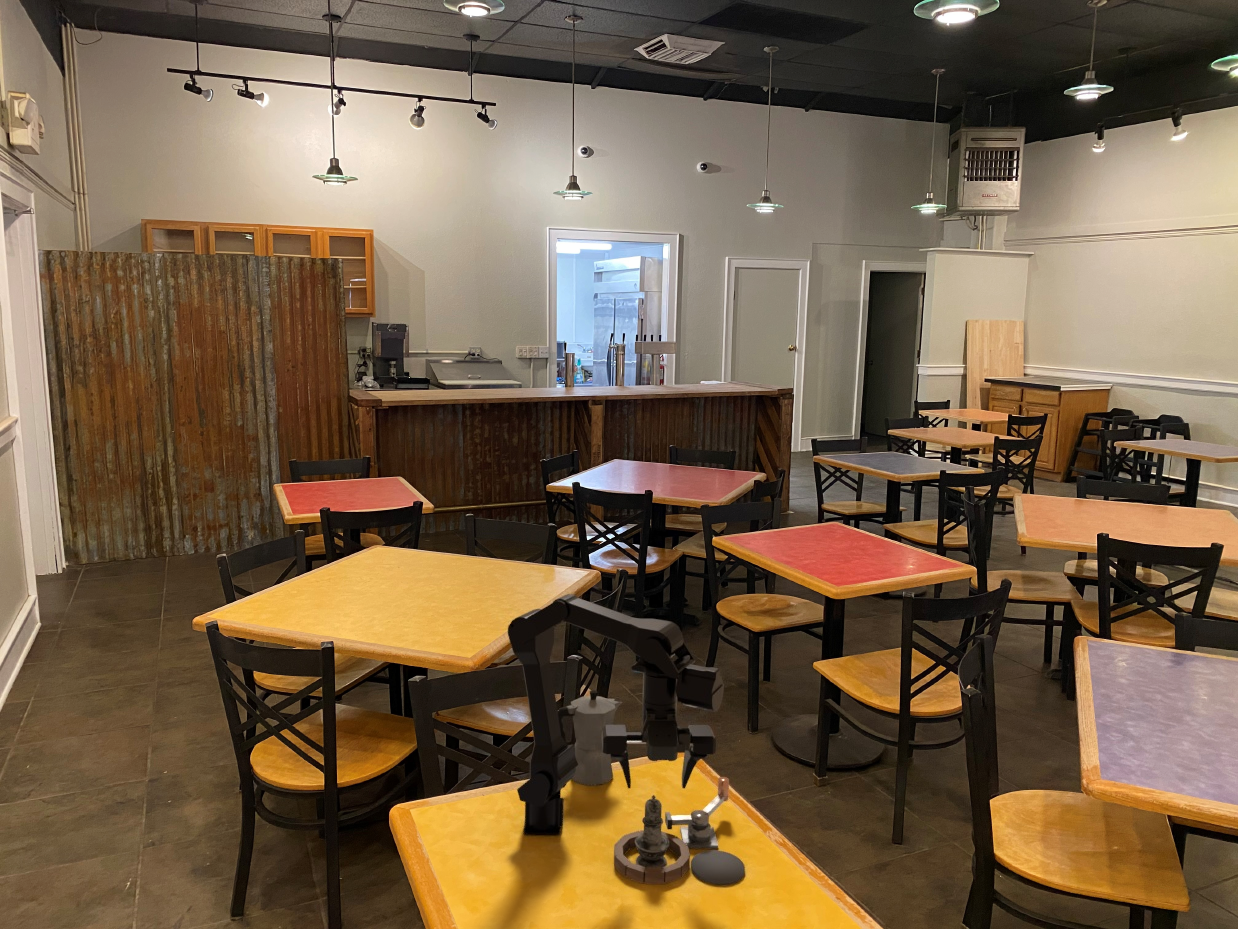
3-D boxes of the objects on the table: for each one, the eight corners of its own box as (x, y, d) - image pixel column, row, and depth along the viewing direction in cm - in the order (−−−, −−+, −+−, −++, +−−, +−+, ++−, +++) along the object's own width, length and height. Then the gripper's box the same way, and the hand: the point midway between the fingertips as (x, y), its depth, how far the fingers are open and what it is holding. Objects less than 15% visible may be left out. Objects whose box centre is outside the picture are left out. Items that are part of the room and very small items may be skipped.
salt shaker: (669, 853, 149) (671, 787, 148) (668, 873, 144) (670, 805, 142) (635, 850, 150) (637, 785, 148) (632, 870, 144) (634, 802, 143)
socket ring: (615, 883, 140) (615, 872, 140) (613, 840, 153) (613, 830, 152) (692, 884, 141) (693, 872, 140) (684, 841, 153) (684, 830, 153)
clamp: (659, 826, 152) (660, 804, 152) (698, 790, 166) (699, 769, 165) (695, 839, 149) (696, 816, 148) (732, 801, 162) (733, 779, 162)
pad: (694, 885, 141) (694, 881, 140) (687, 853, 149) (687, 850, 149) (749, 885, 141) (749, 881, 141) (739, 853, 150) (739, 850, 150)
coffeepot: (608, 759, 184) (610, 677, 182) (630, 778, 176) (633, 693, 174) (542, 774, 176) (543, 689, 174) (562, 795, 168) (564, 706, 166)
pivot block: (684, 848, 151) (684, 835, 151) (680, 830, 157) (680, 817, 157) (718, 848, 151) (718, 835, 151) (713, 830, 157) (713, 817, 157)
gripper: (605, 718, 135) (602, 812, 137) (723, 719, 137) (719, 812, 138) (602, 691, 146) (600, 778, 148) (712, 692, 148) (708, 778, 149)
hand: (656, 787), depth 146 cm, fingers open, 9 cm apart
